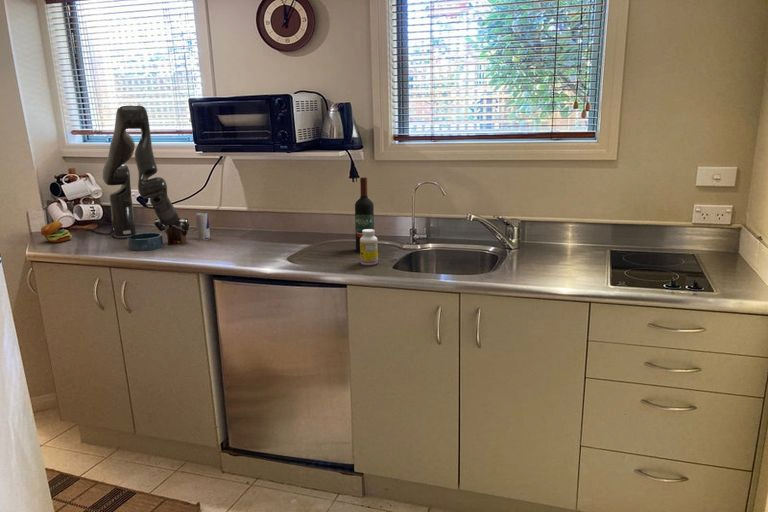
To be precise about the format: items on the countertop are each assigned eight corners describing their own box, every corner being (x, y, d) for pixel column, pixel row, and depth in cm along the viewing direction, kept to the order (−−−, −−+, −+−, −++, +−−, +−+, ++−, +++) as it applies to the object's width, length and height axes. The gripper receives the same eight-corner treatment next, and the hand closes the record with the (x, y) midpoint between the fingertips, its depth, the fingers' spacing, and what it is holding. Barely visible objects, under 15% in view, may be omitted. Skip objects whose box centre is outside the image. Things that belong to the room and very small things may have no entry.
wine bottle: (376, 249, 238) (375, 176, 230) (370, 253, 231) (369, 179, 223) (359, 247, 240) (358, 176, 233) (353, 251, 233) (351, 178, 226)
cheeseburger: (74, 240, 257) (64, 220, 253) (48, 249, 252) (39, 229, 248) (71, 236, 265) (62, 216, 262) (46, 245, 260) (37, 224, 257)
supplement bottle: (359, 261, 219) (359, 228, 216) (377, 260, 219) (376, 228, 216) (360, 266, 212) (360, 232, 209) (378, 265, 213) (378, 231, 210)
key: (182, 243, 249) (182, 240, 249) (172, 243, 249) (171, 240, 249) (183, 241, 252) (183, 239, 251) (173, 242, 251) (173, 239, 251)
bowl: (122, 249, 241) (120, 237, 239) (150, 243, 252) (148, 231, 250) (141, 253, 233) (140, 240, 232) (170, 247, 244) (168, 234, 243)
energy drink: (212, 238, 260) (209, 212, 257) (207, 241, 255) (205, 214, 252) (200, 238, 261) (198, 212, 258) (195, 241, 255) (193, 214, 252)
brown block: (182, 245, 247) (180, 227, 245) (168, 246, 247) (166, 227, 245) (186, 242, 253) (184, 225, 251) (172, 242, 252) (171, 225, 250)
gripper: (184, 204, 238) (195, 226, 252) (149, 204, 237) (162, 227, 252) (182, 219, 234) (193, 241, 249) (146, 219, 234) (159, 241, 248)
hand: (177, 233), depth 250 cm, fingers closed on brown block, 6 cm apart
